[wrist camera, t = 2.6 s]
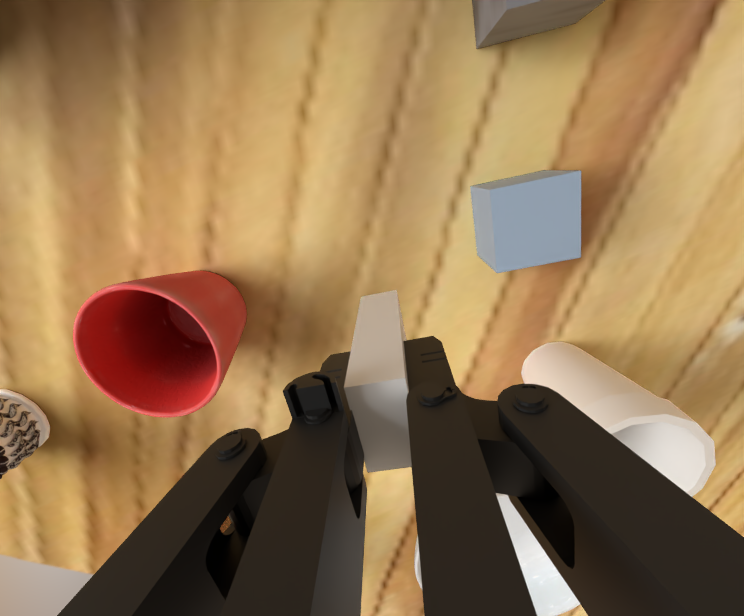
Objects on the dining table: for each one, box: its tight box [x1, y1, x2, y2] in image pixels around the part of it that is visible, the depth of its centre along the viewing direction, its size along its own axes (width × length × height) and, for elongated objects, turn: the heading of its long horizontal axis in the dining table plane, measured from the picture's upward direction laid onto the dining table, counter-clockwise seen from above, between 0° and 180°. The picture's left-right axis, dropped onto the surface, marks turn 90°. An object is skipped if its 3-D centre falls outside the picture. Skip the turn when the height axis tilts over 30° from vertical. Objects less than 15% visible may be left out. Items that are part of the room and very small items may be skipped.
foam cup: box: [521, 341, 716, 497], centre depth 30 cm, size 10×9×13 cm
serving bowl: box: [414, 493, 580, 616], centre depth 40 cm, size 21×21×7 cm
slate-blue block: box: [470, 170, 581, 273], centre depth 28 cm, size 6×6×6 cm
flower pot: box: [73, 271, 247, 417], centre depth 30 cm, size 11×11×10 cm
